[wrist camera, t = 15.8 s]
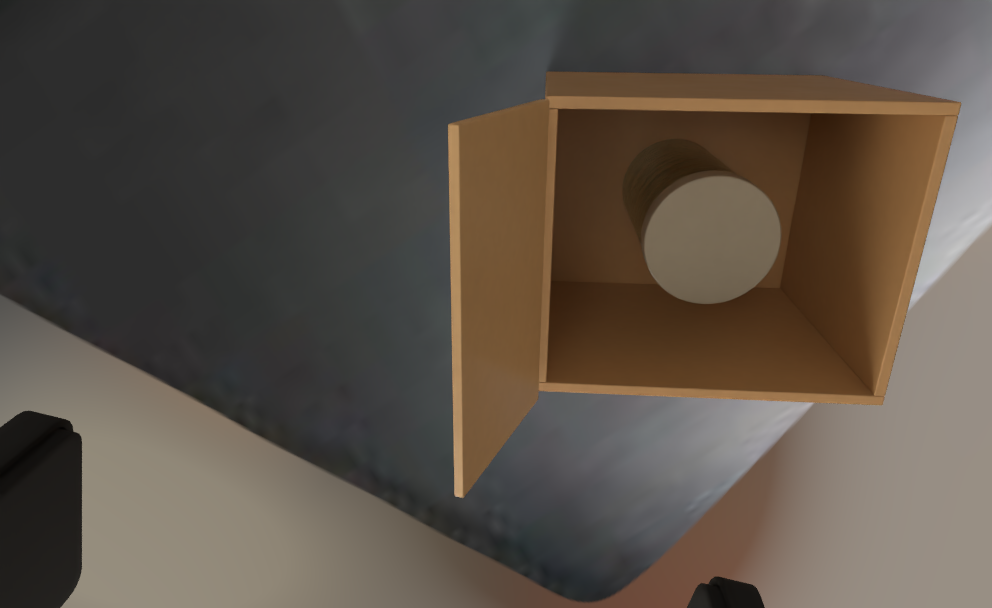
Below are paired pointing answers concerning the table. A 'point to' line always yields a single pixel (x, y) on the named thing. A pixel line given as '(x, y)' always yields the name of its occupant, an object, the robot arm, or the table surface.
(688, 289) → the tea tin
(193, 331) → the table surface
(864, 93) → the carton
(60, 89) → the table surface
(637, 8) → the table surface
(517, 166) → the flap
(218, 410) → the table surface
